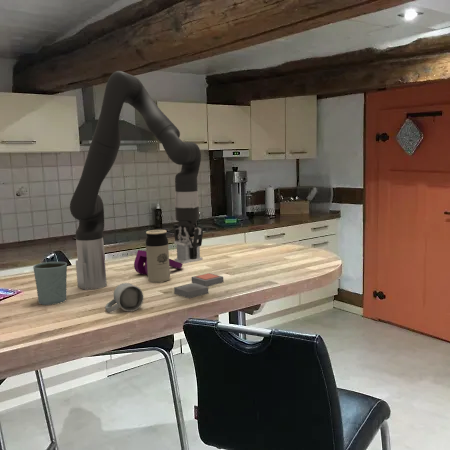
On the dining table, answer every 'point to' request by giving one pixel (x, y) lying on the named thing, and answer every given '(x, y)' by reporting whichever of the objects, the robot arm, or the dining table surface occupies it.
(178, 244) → the housing
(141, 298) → the ceramic mug
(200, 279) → the stand right
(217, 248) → the dining table surface
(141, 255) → the mounting bracket
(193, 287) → the stand left
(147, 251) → the travel mug
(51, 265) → the green tapered cup
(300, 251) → the dining table surface
